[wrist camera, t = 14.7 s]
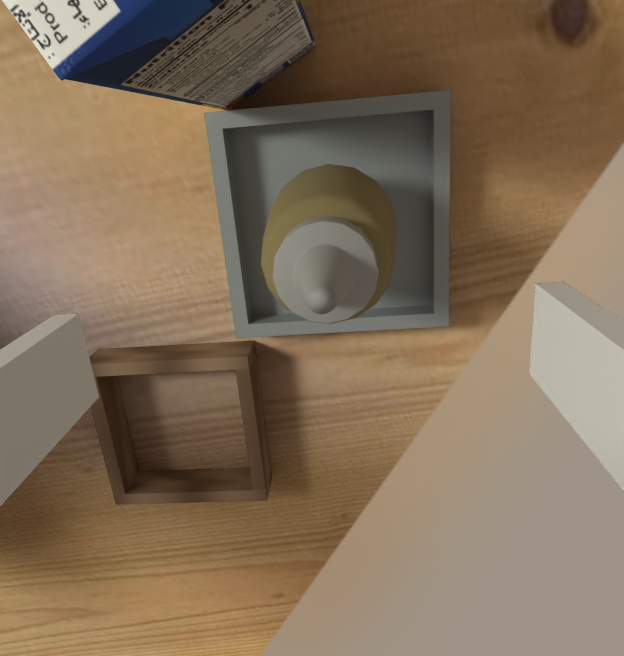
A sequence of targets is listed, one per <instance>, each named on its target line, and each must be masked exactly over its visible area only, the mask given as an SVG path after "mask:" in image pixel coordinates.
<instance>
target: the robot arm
mask: <svg viewBox="0 0 624 656" xmlns="http://www.w3.org/2000/svg"><path fill="white" fill-rule="evenodd" d="M530 375H531V376H532V377H533V379H534V380H535V381H536V382H537V384H538V385H539V386H540V387H541V389H542V390H543V391H544V392H545V393H546V395H547V396H548V397H549V399H550V400H551V401H552V402H553V404H554V405H555V406H556V407H557V409H558V410H559V411H560V412H561V414H562V415H563V416H564V417H565V419H566V420H567V421H568V422H569V423H570V425H571V426H572V427H573V429H574V430H575V431H576V432H577V434H578V435H579V436H580V437H581V438H582V440H583V441H584V442H585V443H586V445H587V446H588V447H589V448H590V450H591V451H592V452H593V453H594V455H595V456H596V457H597V458H598V460H599V461H600V462H601V463H602V465H603V466H604V467H605V468H606V470H607V471H608V472H609V473H610V475H611V476H612V477H613V478H614V480H615V481H616V482H617V483H618V484H619V486H620V487H621V488H622V490H623V491H624V320H622V319H620V318H619V317H617V316H616V315H614V314H613V313H611V312H610V311H608V310H607V309H605V308H604V307H602V306H600V305H599V304H597V303H596V302H594V301H593V300H591V299H590V298H588V297H586V296H585V295H584V294H582V293H581V292H579V291H577V290H576V289H574V288H573V287H571V286H570V285H568V284H567V283H565V282H552V283H537V284H535V298H534V314H533V328H532V343H531V359H530ZM98 398H99V394H98V390H97V386H96V382H95V378H94V374H93V370H92V366H91V362H90V358H89V354H88V350H87V346H86V342H85V338H84V334H83V330H82V326H81V322H80V318H79V314H68V315H53V316H52V317H50V318H49V319H47V320H46V321H44V322H42V323H41V324H39V325H38V326H36V327H35V328H33V329H32V330H30V331H28V332H27V333H25V334H24V335H22V336H21V337H19V338H17V339H16V340H14V341H13V342H11V343H10V344H8V345H7V346H5V347H3V348H2V349H0V506H1V505H2V504H3V503H4V502H5V501H6V500H7V499H8V498H9V496H10V495H11V494H12V493H13V492H14V491H15V490H16V489H17V488H18V486H19V485H20V484H21V483H22V482H23V481H24V480H25V479H26V478H27V476H28V475H29V474H30V473H31V472H32V471H33V470H34V469H35V468H36V467H37V465H38V464H39V463H40V462H41V461H42V460H43V459H44V458H45V457H46V455H47V454H48V453H49V452H50V451H51V450H52V449H53V448H54V447H55V446H56V444H57V443H58V442H59V441H60V440H61V439H62V438H63V437H64V436H65V434H66V433H67V432H68V431H69V430H70V429H71V428H72V427H73V426H74V424H75V423H76V422H77V421H78V420H79V419H80V418H81V417H82V416H83V415H84V413H85V412H86V411H87V410H88V409H89V408H90V407H91V406H92V405H93V403H94V402H95V401H96V400H97V399H98Z"/></svg>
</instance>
